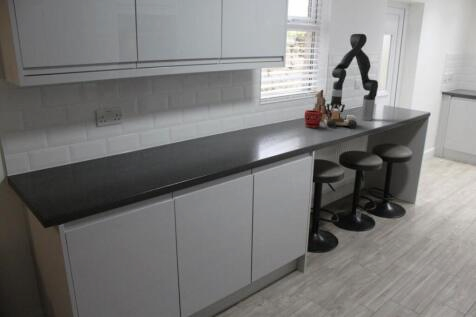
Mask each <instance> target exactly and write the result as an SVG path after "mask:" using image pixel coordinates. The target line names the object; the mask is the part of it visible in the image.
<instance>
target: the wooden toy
mask: <svg viewBox="0 0 476 317" xmlns="http://www.w3.org/2000/svg"><path fill="white" fill-rule="evenodd" d="M314 97H316V102H315V103H314V107H312V110H316V111H321V112H323V113H322V119H321V122H322V123H325V122H324V117H325V116H327V115H329V116H330V112H328V110H327V105H326V102H327V101H326V98H325V97H324V89H321V90H320V91H319V92H318V93H317V94H316V95H315V96H314ZM320 117H321V116H320ZM317 119H318V117H317Z"/></svg>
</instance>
